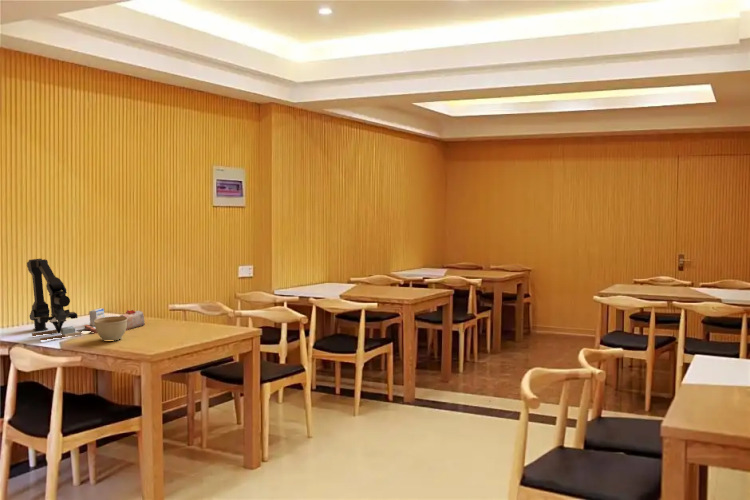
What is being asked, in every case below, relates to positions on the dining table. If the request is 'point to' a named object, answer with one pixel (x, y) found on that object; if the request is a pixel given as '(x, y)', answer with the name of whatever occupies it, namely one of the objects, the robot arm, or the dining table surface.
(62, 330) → the block
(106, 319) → the planter bowl
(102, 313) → the medicine box
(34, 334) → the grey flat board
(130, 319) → the food item
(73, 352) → the dining table surface
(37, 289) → the robot arm
